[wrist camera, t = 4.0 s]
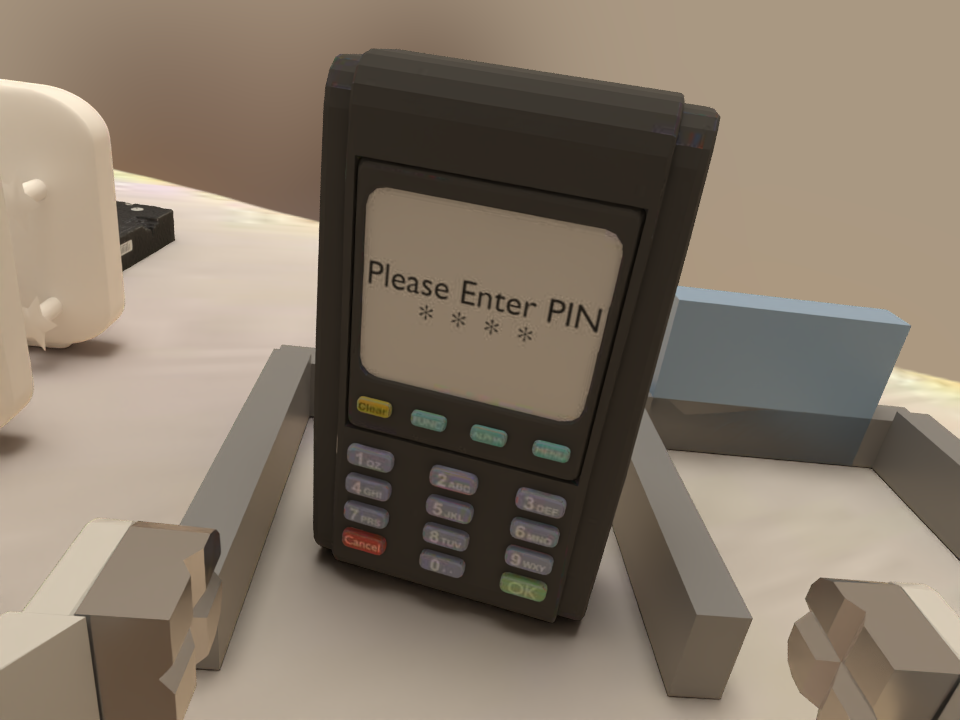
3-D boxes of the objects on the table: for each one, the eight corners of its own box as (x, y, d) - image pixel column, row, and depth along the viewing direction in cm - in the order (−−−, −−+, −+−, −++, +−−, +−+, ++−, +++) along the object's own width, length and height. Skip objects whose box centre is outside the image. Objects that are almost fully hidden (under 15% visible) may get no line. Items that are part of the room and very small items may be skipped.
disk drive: (177, 248, 49) (-38, 215, 48) (176, 208, 48) (-45, 174, 47) (98, 298, 39) (-169, 258, 39) (93, 250, 38) (-182, 209, 38)
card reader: (291, 567, 22) (302, 40, 15) (345, 495, 25) (372, 44, 19) (581, 654, 20) (728, 106, 14) (596, 564, 24) (717, 96, 17)
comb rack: (159, 666, 18) (138, 433, 15) (282, 392, 31) (284, 240, 28) (1159, 724, 21) (1311, 536, 18) (880, 449, 34) (940, 315, 31)
